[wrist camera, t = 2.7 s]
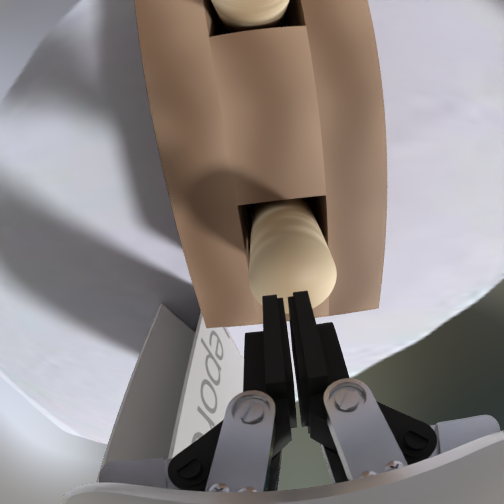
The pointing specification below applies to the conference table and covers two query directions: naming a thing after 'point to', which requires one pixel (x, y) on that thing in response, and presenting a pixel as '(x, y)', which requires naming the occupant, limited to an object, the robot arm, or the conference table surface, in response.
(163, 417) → the brochure
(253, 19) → the peg
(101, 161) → the conference table surface
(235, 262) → the walnut block
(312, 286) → the peg
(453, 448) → the robot arm
